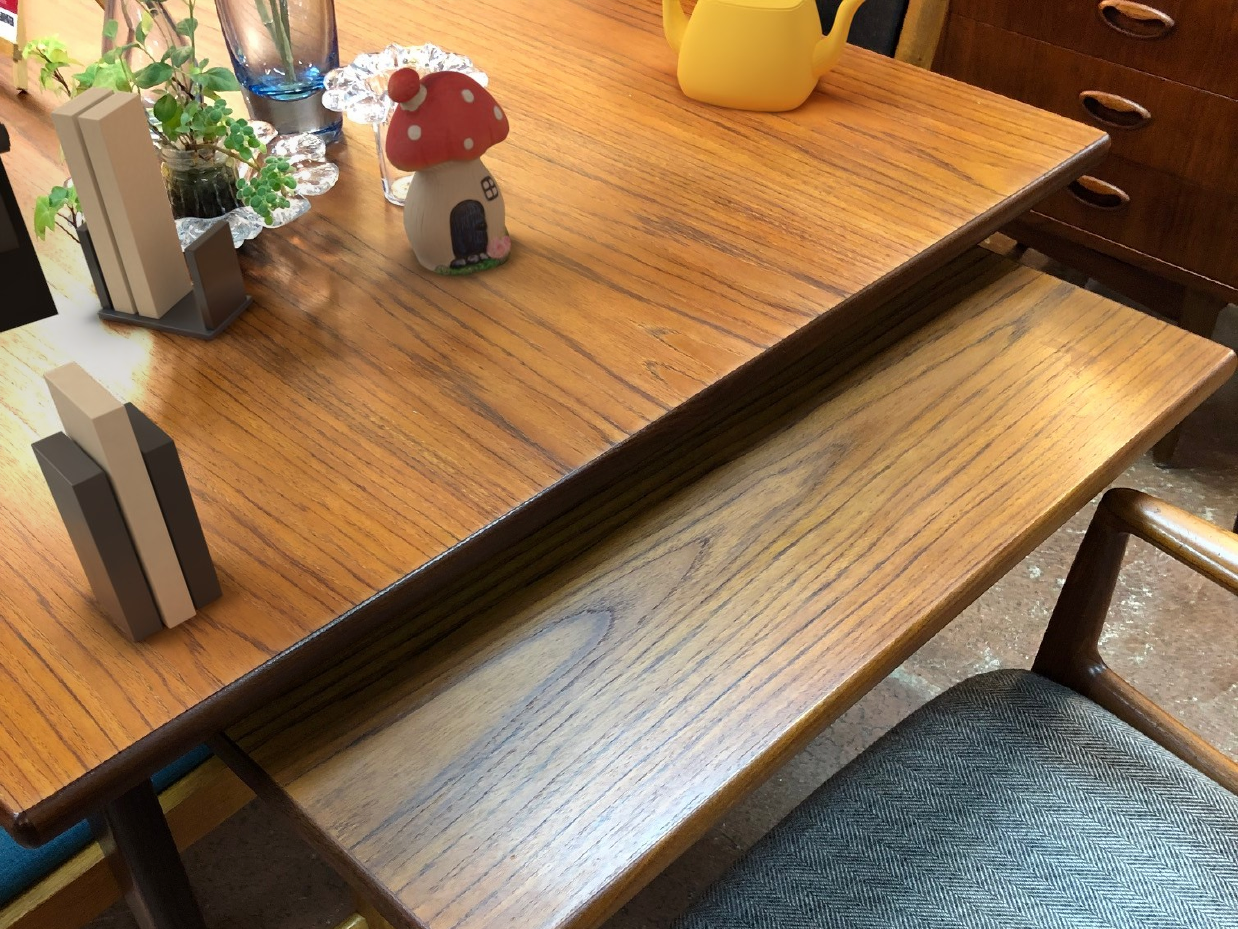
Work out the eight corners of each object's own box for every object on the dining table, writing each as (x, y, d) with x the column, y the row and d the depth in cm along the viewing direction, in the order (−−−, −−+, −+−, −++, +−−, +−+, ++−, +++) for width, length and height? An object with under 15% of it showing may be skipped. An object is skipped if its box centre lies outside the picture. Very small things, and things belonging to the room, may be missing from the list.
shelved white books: (114, 310, 84) (49, 112, 75) (150, 281, 87) (92, 86, 77) (158, 319, 84) (98, 120, 74) (193, 289, 87) (140, 93, 77)
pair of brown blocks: (138, 649, 63) (71, 485, 55) (99, 607, 65) (29, 443, 57) (225, 602, 65) (174, 439, 57) (185, 562, 67) (130, 400, 60)
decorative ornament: (411, 291, 89) (384, 85, 78) (390, 251, 93) (361, 50, 82) (530, 268, 91) (520, 66, 80) (503, 230, 95) (490, 33, 85)
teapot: (879, 73, 119) (898, -46, 111) (845, 134, 109) (863, 7, 101) (670, 43, 124) (675, -73, 117) (619, 98, 114) (620, -25, 106)
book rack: (100, 324, 85) (69, 233, 80) (146, 286, 89) (118, 197, 84) (213, 347, 83) (188, 255, 78) (255, 308, 87) (233, 217, 82)
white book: (172, 636, 63) (91, 419, 53) (127, 588, 66) (41, 373, 56) (199, 621, 64) (124, 405, 54) (153, 575, 67) (74, 360, 57)
